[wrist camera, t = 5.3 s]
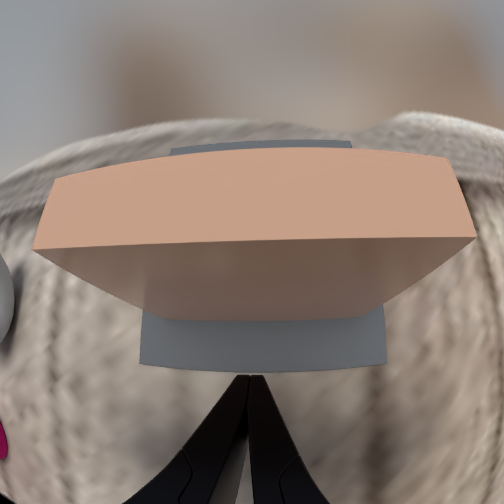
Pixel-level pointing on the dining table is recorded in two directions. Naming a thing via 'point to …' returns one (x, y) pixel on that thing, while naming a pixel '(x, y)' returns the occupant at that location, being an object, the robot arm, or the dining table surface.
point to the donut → (5, 299)
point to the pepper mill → (2, 443)
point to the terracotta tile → (257, 231)
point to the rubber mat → (264, 324)
